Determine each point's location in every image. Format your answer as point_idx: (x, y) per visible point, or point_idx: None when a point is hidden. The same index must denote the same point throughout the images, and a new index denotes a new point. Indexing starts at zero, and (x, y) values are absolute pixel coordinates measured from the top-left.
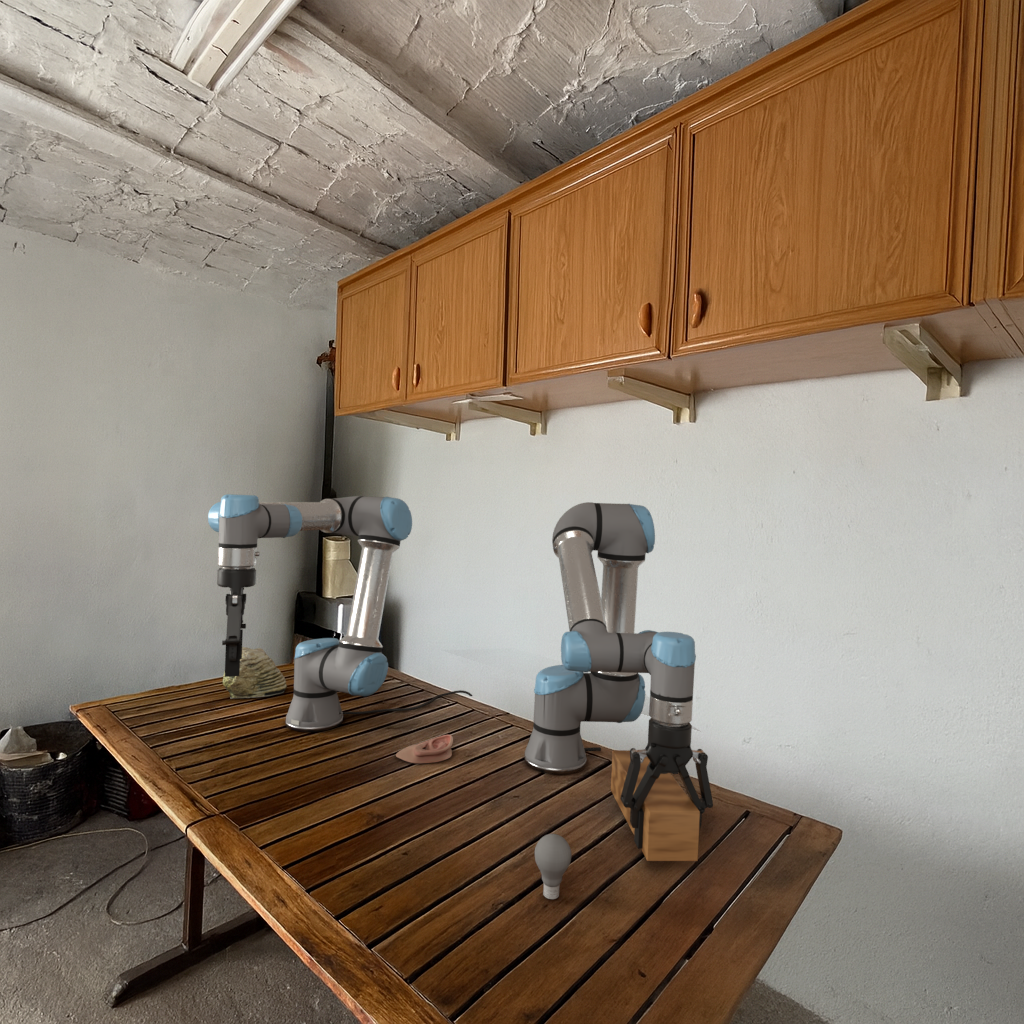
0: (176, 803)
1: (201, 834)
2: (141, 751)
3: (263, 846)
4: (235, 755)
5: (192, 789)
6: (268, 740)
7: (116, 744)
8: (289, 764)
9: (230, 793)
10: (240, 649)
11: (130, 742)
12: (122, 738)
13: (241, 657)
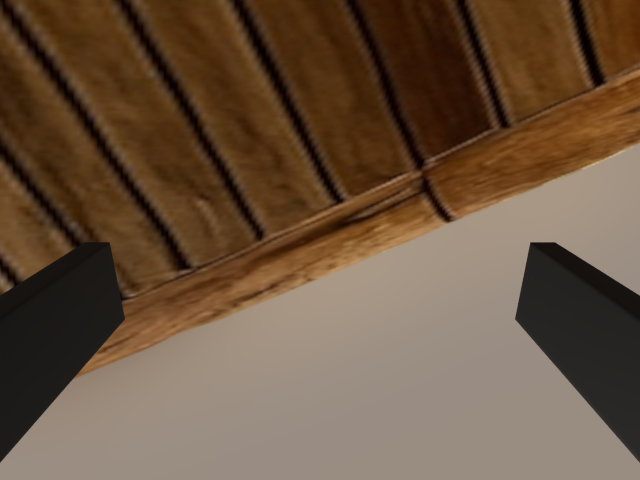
0: (349, 251)
1: (493, 196)
2: None
3: (596, 79)
4: (118, 152)
5: (293, 229)
6: (14, 66)
7: None
8: (196, 7)
9: (334, 153)
10: (68, 283)
11: None
12: None
13: (103, 248)
